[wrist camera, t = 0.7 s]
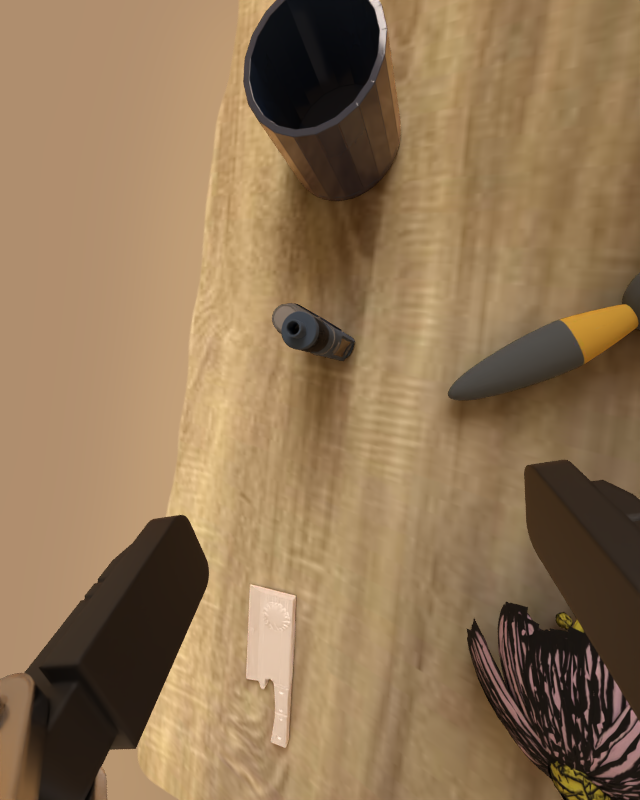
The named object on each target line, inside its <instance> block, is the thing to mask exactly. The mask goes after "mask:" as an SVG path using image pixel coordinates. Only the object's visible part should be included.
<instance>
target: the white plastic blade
mask: <svg viewBox="0 0 640 800" xmlns="http://www.w3.org/2000/svg"><path fill="white" fill-rule="evenodd" d="M295 608H296V596H295V595H291V594H287V593H283V592H279V591H275V590H271V589H268V588H264V587H260V586H256V585H252V584H250V597H249V621H248V644H247V668H246V679H251V680H258V681H259V682H260V686H261V688H262V689H264V688H265V686H266V685H267V683H268V680H269V679H271V680H272V681H273V684H274V693H275V718H274V725H273V731H272V737H271V743H274V744H276V745H279V746H282V747H284V748H286V746H287V744H288V741H289V727H290V707H291V688H292V684H291V682H292V675H293V670H292V667H293V660H294V656H293V649H294V645H295V641H294V633H295V630H296V622H295Z"/></svg>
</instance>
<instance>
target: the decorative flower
mask: <svg viewBox="0 0 640 800" xmlns="http://www.w3.org/2000/svg"><path fill="white" fill-rule="evenodd" d="M527 610H528V607H524V606H521V605H517V604H513V603H508V602H506V604H505V605H503V607H502V609H501V612H500V617H499V623H498V647H499V655H500V661H501V666H502V671H503V675H504V679H505V682H504V680H503V678H502V675H501V673H500V671H499V669H498V667H497V665H496V663H495V661H494V660H493V657H492V655H491V653H490V651H489V649H488V646H487V643H486V641H485V639H484V636H483V635H482V633H481V631H480V629H479V627H478V625H477V623H476V621H475V619H474V621H473V625H472V629H471V630H469V629H467V633H468V637H467V641H468V646H469V651H470V655H471V658H472V661H473V665H474V668H475V671H476V673H477V677H478V679H479V682H480V684H481V686H482V688H483V691H484V693H485V695H486V697H487V699H488V701H489V703H490V705H491V706H492V708H493V709H494V711H495V713H496V715H497V717H498V718H499V719H500V720H501V722H502V724H503V725H504V726H505V728H506V729H507V730H508V732H509V734H510V735H511V737H512V738H513V739H514V741H515V742H516V743H517V745H518V746H519V747H520V748H521V750H522V751H523V752H524V754H525V755H526V756H527V757H528V758H529V759H530V760H531V761H532V762H533V763H534V764H535V765H536V766H537V767H538V768H539V769H540V770H542V771H543V772H544V773H545V774H546V775H547V776H549V777H550V778H551V779H552V781H553V783H554V786H555V787H556V788H557V790H558V791H559V792H560V794H561V796H562V797H563V799H564V800H640V721H639V720H638V718H637V716H636V715H635V713H634V712H633V710H632V708H631V707H630V705H629V703H628V702H627V700H626V698H625V697H624V695H623V694H622V692H621V690H620V689H619V687H618V685H617V684H616V682H615V680H614V679H613V677H612V676H611V674H610V672H609V671H608V669H607V667H606V666H605V664H604V663H603V661H602V659H601V658H600V656H599V654H598V653H597V651H596V649H595V648H594V646H593V645H592V643H591V641H590V640H589V638H588V636H587V635H586V633H585V632H584V630H583V628H582V627H581V625H580V623H579V622H578V620H576V622H575V624H574V626H573V627H571V626H572V625H573V623H572V619H571V617H570V616H568V615H567V614H566V613H564V612H562V613H558V614H557V615H556V617H555V618H556V623H557V624H558V625H559V627H561V628H565V629H566V630H567V629H568V632H567V631H561V630H556V629H550V631H548V630H545V631H543V630H541V629H540V628H539V624H538V623H536V622H534V621H533V620H532V619H531V617H530V616H529V614H528V613H527ZM505 683H506V684H505Z"/></svg>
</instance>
